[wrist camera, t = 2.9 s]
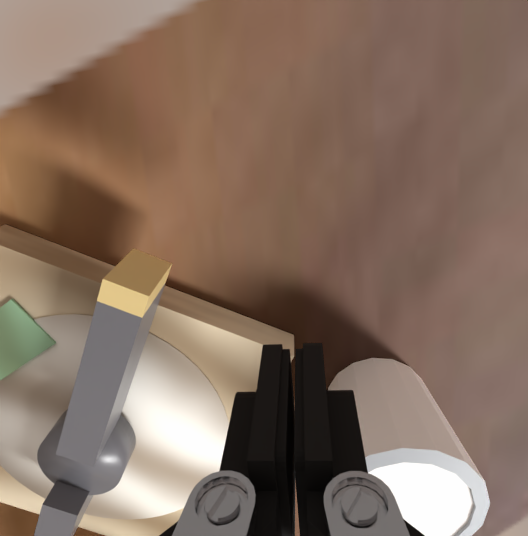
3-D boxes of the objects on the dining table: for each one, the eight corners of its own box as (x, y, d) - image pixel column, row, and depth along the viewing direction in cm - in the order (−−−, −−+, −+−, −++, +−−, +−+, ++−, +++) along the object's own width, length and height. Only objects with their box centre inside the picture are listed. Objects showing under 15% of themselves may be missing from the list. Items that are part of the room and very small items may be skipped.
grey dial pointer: (114, 500, 25) (89, 558, 22) (43, 477, 25) (8, 532, 21) (200, 272, 19) (182, 308, 16) (106, 236, 18) (68, 266, 15)
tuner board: (192, 532, 29) (185, 565, 27) (-35, 457, 28) (-61, 486, 26) (294, 334, 22) (294, 359, 20) (-2, 221, 21) (-33, 235, 19)
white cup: (308, 354, 23) (315, 456, 17) (436, 341, 22) (495, 443, 16) (322, 446, 26) (332, 566, 19) (437, 438, 25) (488, 560, 18)
